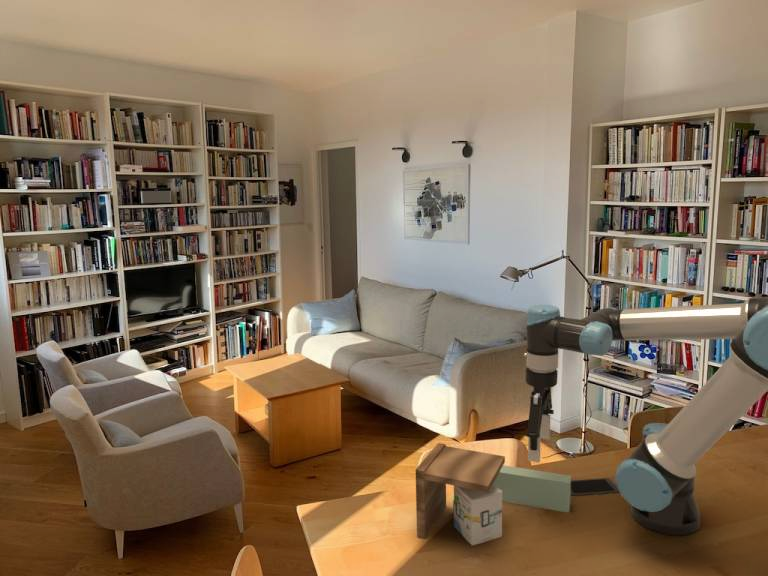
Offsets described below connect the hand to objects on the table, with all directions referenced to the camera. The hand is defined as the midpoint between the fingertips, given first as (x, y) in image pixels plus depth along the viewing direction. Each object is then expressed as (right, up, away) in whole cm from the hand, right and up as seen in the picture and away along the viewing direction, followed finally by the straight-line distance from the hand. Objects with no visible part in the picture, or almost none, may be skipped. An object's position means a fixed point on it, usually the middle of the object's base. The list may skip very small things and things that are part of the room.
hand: (539, 449), depth 147 cm
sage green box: (-7, -15, +1) cm, 17 cm away
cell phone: (+16, -14, +10) cm, 23 cm away
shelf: (-20, -17, -7) cm, 27 cm away
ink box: (-17, -17, -8) cm, 26 cm away
